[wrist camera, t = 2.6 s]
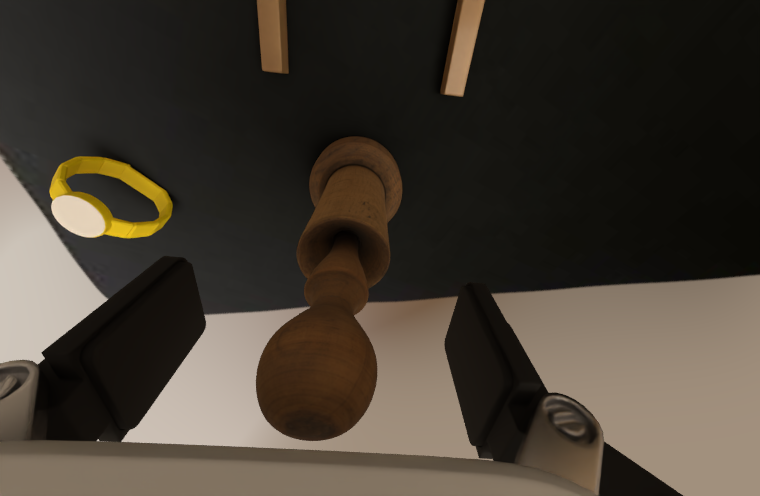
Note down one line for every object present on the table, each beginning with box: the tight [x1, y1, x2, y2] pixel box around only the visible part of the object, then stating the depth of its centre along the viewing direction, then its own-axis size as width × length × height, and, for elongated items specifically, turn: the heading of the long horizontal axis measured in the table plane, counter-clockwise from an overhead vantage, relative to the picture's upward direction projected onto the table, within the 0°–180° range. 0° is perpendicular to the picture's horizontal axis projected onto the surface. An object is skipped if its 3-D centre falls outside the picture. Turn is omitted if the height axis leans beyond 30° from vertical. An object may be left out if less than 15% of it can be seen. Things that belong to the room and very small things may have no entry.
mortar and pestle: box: [256, 136, 402, 441], centre depth 14 cm, size 7×6×18 cm
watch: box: [49, 156, 173, 238], centre depth 19 cm, size 6×3×6 cm, turn 43°
